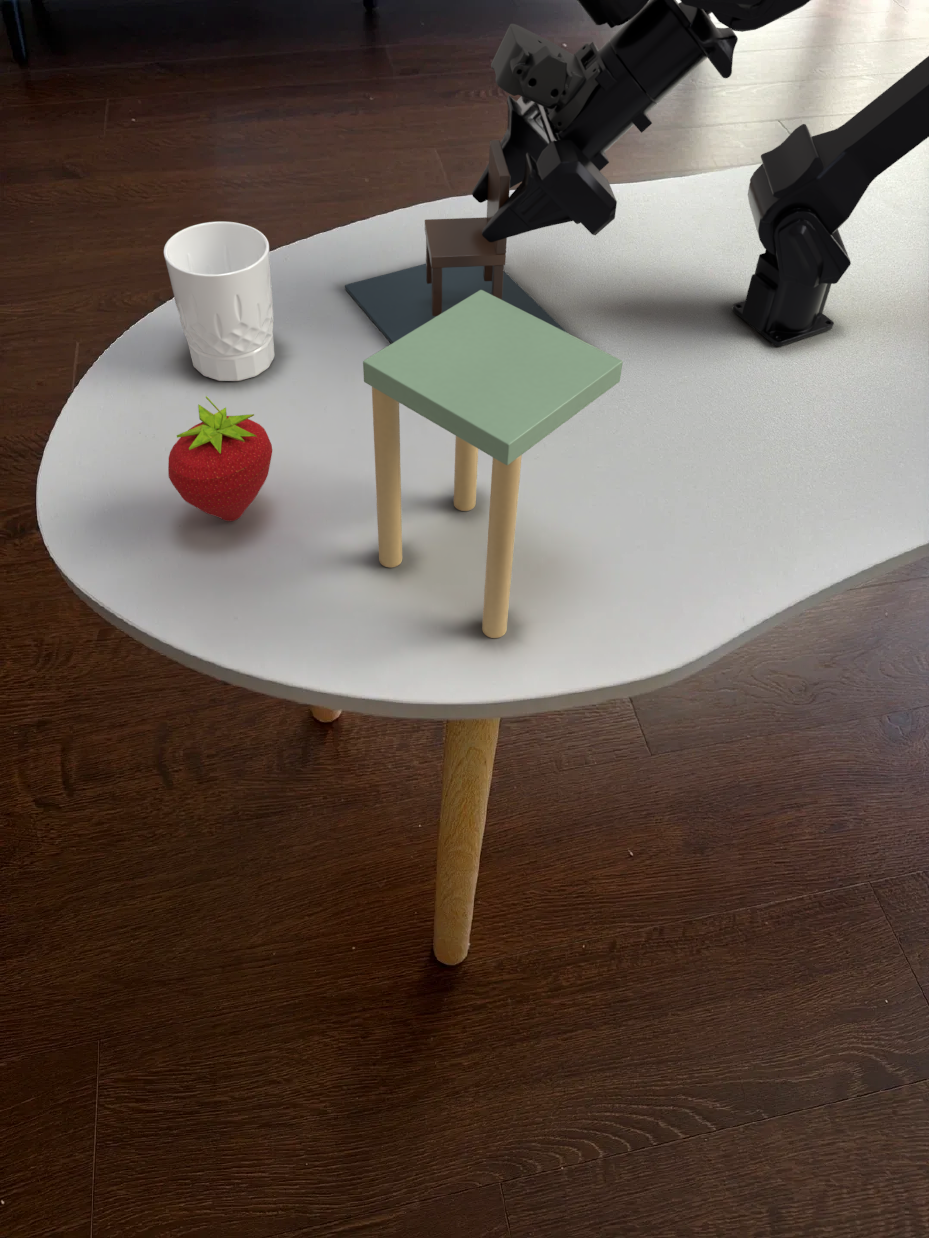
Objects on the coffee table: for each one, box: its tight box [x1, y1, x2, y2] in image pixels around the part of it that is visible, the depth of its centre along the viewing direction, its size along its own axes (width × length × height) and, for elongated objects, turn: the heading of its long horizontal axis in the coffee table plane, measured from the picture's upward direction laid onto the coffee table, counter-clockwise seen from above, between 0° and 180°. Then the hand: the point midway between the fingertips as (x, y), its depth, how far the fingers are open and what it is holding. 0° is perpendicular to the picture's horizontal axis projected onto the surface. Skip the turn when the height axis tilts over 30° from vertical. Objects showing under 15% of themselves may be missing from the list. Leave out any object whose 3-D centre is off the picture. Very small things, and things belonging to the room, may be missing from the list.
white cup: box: [163, 221, 275, 382], centre depth 87 cm, size 8×8×10 cm
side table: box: [362, 290, 624, 639], centre depth 70 cm, size 10×11×16 cm
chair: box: [424, 139, 511, 316], centre depth 89 cm, size 6×6×12 cm
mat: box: [344, 263, 568, 344], centre depth 95 cm, size 14×18×1 cm
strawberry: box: [167, 395, 273, 522], centre depth 74 cm, size 6×8×10 cm
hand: (480, 217), depth 88 cm, fingers closed on chair, 6 cm apart
